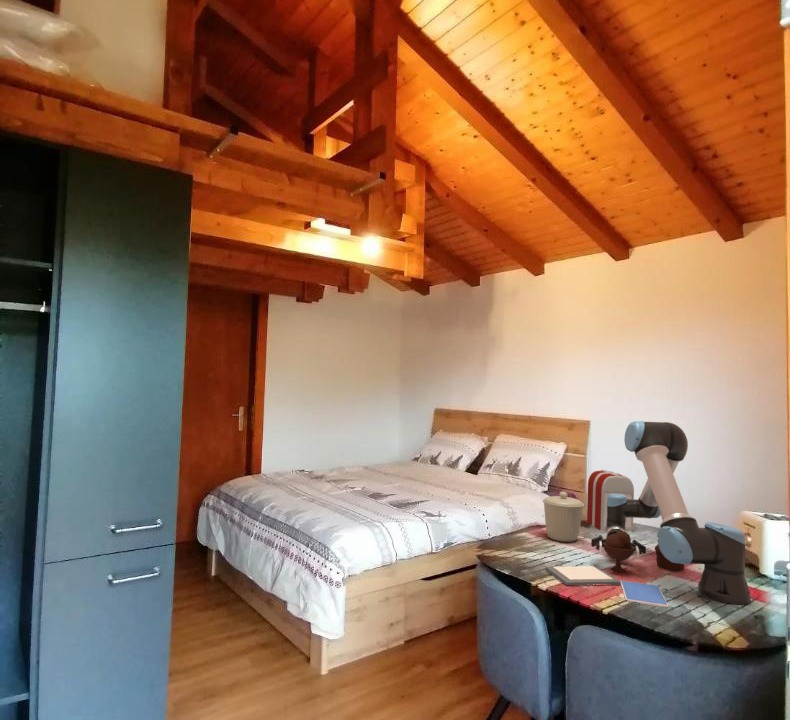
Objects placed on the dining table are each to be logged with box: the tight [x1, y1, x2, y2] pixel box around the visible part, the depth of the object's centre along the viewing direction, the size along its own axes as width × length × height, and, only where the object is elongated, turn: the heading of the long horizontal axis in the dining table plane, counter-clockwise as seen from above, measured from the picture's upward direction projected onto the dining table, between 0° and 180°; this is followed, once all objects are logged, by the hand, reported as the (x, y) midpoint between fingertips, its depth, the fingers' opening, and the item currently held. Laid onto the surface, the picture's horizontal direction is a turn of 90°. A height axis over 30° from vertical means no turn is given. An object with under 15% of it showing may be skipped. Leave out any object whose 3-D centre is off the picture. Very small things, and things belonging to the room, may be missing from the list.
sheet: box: [552, 565, 613, 581], centre depth 193 cm, size 13×16×1 cm
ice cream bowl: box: [602, 531, 635, 574], centre depth 203 cm, size 11×11×15 cm
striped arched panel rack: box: [586, 469, 635, 532], centre depth 271 cm, size 16×18×27 cm
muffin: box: [654, 543, 685, 572], centre depth 209 cm, size 12×11×10 cm
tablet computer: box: [619, 580, 669, 608], centre depth 180 cm, size 19×13×1 cm, turn 162°
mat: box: [545, 565, 621, 586], centre depth 193 cm, size 16×20×1 cm
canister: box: [542, 491, 585, 543], centre depth 244 cm, size 18×18×21 cm
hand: (619, 551), depth 199 cm, fingers open, 12 cm apart
